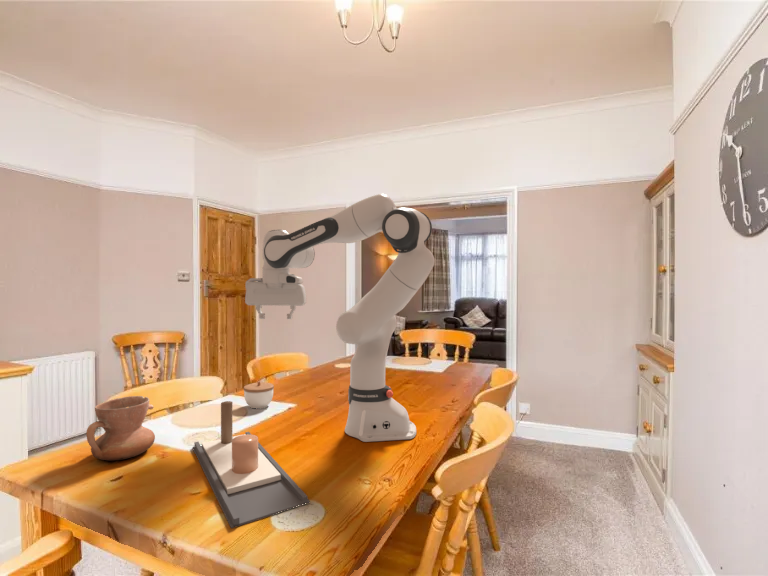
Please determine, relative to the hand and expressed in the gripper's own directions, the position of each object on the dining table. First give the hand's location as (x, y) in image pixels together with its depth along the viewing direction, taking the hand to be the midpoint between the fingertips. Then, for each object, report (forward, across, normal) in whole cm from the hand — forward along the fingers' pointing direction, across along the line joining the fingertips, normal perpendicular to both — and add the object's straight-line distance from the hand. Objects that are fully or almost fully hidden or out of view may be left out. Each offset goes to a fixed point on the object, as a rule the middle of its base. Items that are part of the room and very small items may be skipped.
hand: (275, 318), depth 138 cm
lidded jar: (+34, -10, +13) cm, 38 cm away
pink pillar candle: (+32, +4, -40) cm, 52 cm away
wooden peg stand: (+34, 0, -35) cm, 49 cm away
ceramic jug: (+34, -33, -30) cm, 56 cm away
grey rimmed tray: (+34, +3, -39) cm, 52 cm away
